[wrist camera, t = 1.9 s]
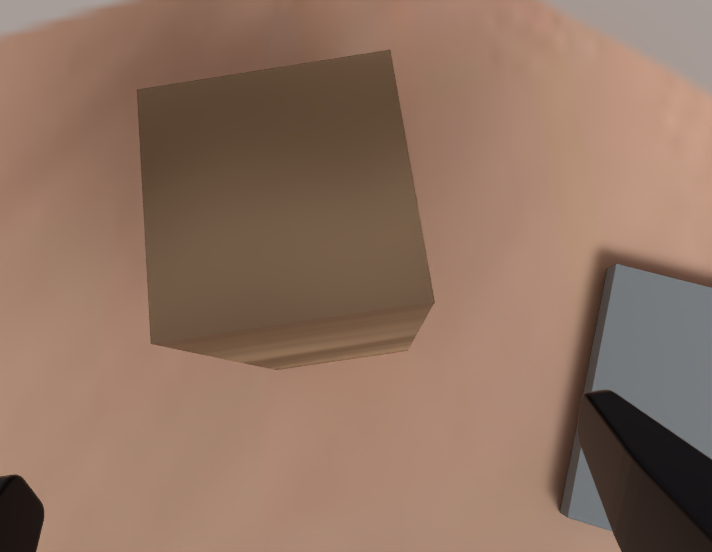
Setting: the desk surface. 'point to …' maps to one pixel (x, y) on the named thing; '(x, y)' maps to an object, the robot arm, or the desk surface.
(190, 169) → the walnut block
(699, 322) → the grey pad
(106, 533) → the desk surface
